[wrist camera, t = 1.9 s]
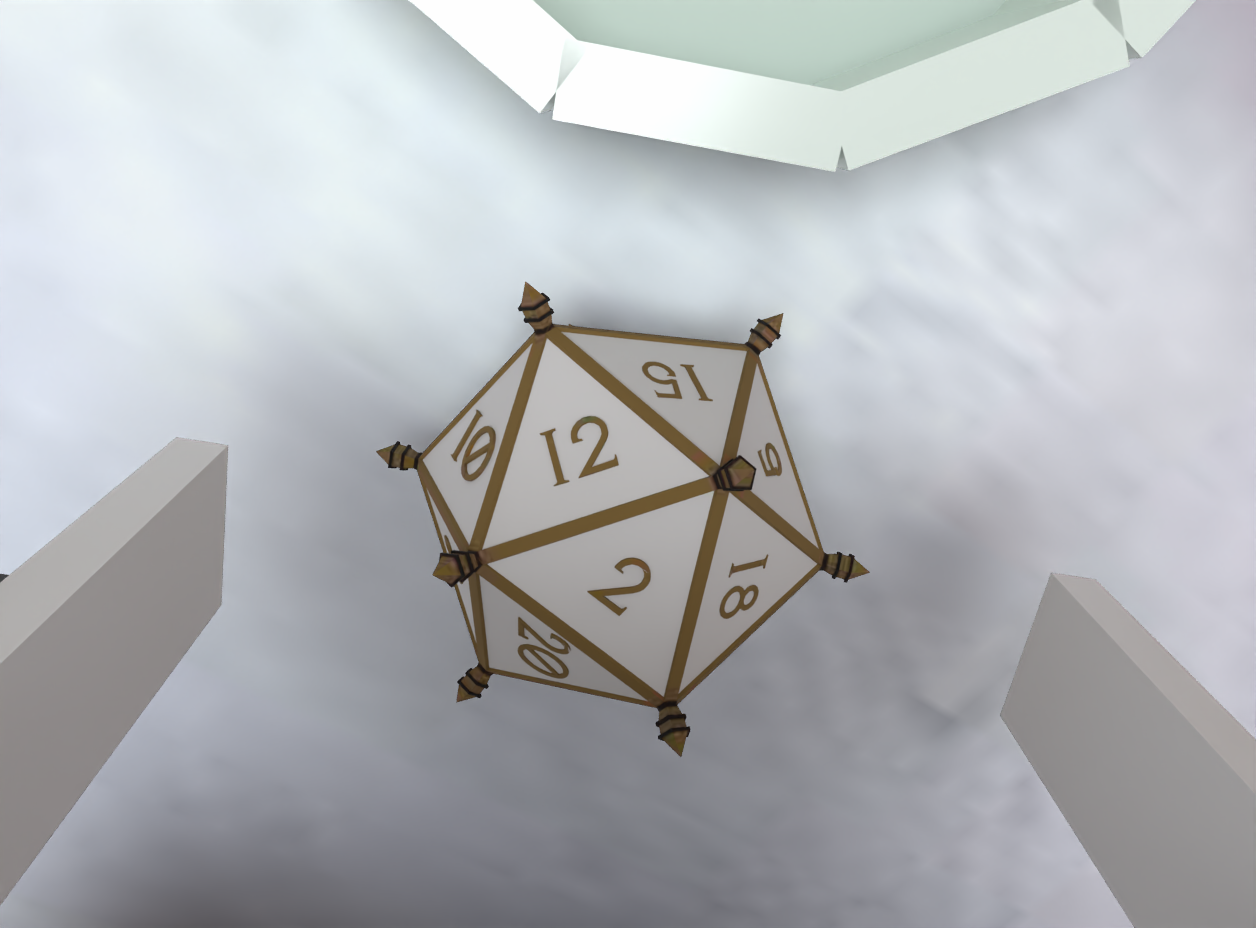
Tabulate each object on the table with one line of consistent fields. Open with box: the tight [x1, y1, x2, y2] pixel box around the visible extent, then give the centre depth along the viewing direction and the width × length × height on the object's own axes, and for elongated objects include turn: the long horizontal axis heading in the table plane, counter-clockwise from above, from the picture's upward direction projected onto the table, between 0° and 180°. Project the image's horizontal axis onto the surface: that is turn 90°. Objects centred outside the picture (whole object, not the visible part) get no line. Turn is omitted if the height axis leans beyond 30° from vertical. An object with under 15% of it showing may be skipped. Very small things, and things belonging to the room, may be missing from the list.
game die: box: [376, 281, 870, 757], centre depth 20 cm, size 9×8×10 cm
